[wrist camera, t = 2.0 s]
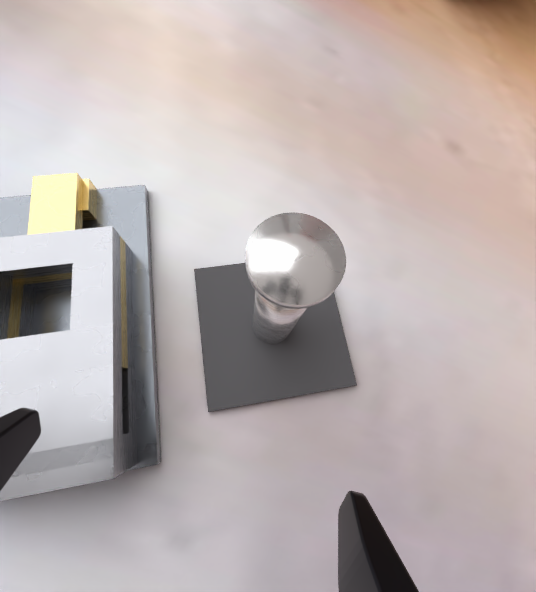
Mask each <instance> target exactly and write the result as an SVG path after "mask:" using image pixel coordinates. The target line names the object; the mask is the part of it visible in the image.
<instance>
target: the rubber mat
mask: <svg viewBox="0 0 536 592" xmlns="http://www.w3.org/2000/svg"><path fill="white" fill-rule="evenodd" d="M194 271H195V281H196V292H197V302H198V312H199V322H200V333H201V343H202V353H203V363H204V374H205V384H206V394H207V404H208V412H211V411H216V410H222V409H227V408H233V407H239V406H244V405H250V404H255V403H261V402H266V401H272V400H277V399H283V398H289V397H294V396H300V395H305V394H311V393H316V392H322V391H328V390H333V389H339V388H344V387H350V386H355V385H357V384H356V380H355V376H354V372H353V368H352V364H351V359H350V355H349V351H348V347H347V343H346V339H345V335H344V331H343V327H342V323H341V319H340V315H339V311H338V307H337V303H336V299H335V295H334V291H333V293H332V294H331V295H330V296H329V297H328V298H326V299H325V300H324V301H322V302H321V303H319V304H317V305H315V306H312V307H308V308H307V309H306V310H305V312H304V313H303V314H302V316H301V317H300V319H299V320H298V322H297V323H296V325H295V326H294V328H293V329H292V330H291V332H290V333H289V335H288V336H287V337H286V338H285V339H284V340H283V341H281V342H279V343H276V344H269V343H265V342H263V341H261V340H260V339H259V338H258V337H257V336H256V334H255V333H254V330H253V314H254V301H255V288H254V287H253V286H252V284H251V282H250V280H249V278H248V275H247V271H246V265H245V263H241V264H233V265H225V266H217V267H209V268H201V269H194Z"/></svg>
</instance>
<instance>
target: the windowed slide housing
mask: <svg viewBox="0 0 536 592" xmlns="http://www.w3.org/2000/svg"><path fill="white" fill-rule="evenodd" d="M19 408H29V409H33V410H36V411H38V413H39V417H40V424H41V434H40V436H39V438H38V440H37V441H36V443H35V444H34V446H33V447H32V448H31V450H30V451H29V453H28V454H27V455H26V457H25V458H24V459H23V461H22V462H21V464H20V465H19V466H18V468H17V469H16V471H15V472H14V473H13V475H12V476H11V478H10V479H9V480H8V482H7V483H6V484H5V486H4V487H3V489H2V490H1V491H0V501H5V500H10V499H15V498H20V497H25V496H30V495H35V494H40V493H45V492H50V491H55V490H60V489H65V488H70V487H75V486H80V485H85V484H90V483H95V482H100V481H105V480H110V479H114V478H116V477H117V476H119V475H120V474H122V473H124V472H125V471H127V470H131V469H136V468H141V467H146V466H151V465H156V464H158V463H160V462H161V453H160V433H159V413H158V392H157V372H156V351H155V331H154V311H153V290H152V270H151V249H150V229H149V209H148V191H147V189H146V187H145V185H138V186H127V187H116V188H105V189H96V188H95V186H94V185H93V183H92V182H91V181H90V179H81V177H80V176H79V175H78V173H69V174H57V175H45V176H33V182H32V193H31V195H26V196H14V197H3V198H0V417H1V416H3V415H6V414H8V413H10V412H12V411H15V410H17V409H19Z"/></svg>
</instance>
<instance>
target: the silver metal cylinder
mask: <svg viewBox="0 0 536 592" xmlns="http://www.w3.org/2000/svg"><path fill="white" fill-rule="evenodd" d="M245 265H246V271H247V275H248V278H249V280H250V282H251V284H252V286H253V287H254V288H255V301H254V314H253V330H254V333H255V334H256V336H257V337H258V338H259V339H260V340H261V341H263V342H265V343H269V344H276V343H279V342H281V341H283V340H284V339H285V338H286V337H287V336H288V335H289V333H290V332H291V330H292V329H293V328H294V326H295V325H296V323H297V322H298V320H299V319H300V317H301V316H302V314H303V313H304V312H305V310H306V309H307V308H308V307H312V306H315V305H317V304H319V303H321V302H322V301H324V300H325V299H326V298H328V297H329V296H330V295H331V294H332V293H333V291H334V290H335V289H336V288H337V286H338V285H339V284H340V282H341V280H342V278H343V275H344V272H345V267H346V255H345V251H344V247H343V245H342V242H341V241H340V239H339V237H338V236H337V234H336V233H335V232H334V231H333V230H332V228H330V227H329V226H328V225H327V224H326V223H324V222H323V221H321V220H319V219H317V218H315V217H313V216H310V215H307V214H302V213H283V214H278V215H275V216H273V217H271V218H268V219H267V220H265V221H264V222H262V223H261V224H260V225H259V226H258V227H257V228H256V229H255V230H254V231H253V233H252V234H251V236H250V238H249V240H248V243H247V246H246V252H245Z"/></svg>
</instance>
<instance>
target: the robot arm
mask: <svg viewBox="0 0 536 592" xmlns="http://www.w3.org/2000/svg"><path fill="white" fill-rule="evenodd" d="M40 434H41V424H40V417H39V413H38V411H36V410H33V409H29V408H19V409H17V410H15V411H12V412H10V413H8V414H6V415H3V416H1V417H0V491H1V490H2V489H3V487H4V486H5V484H6V483H7V482H8V480H9V479H10V478H11V476H12V475H13V473H14V472H15V471H16V469H17V468H18V466H19V465H20V464H21V462H22V461H23V459H24V458H25V457H26V455H27V454H28V453H29V451H30V450H31V448H32V447H33V446H34V444H35V443H36V441H37V440H38V438H39V436H40ZM338 585H339V592H419V591H418V589H417V587H416V586H415V584H414V582H413V580H412V578H411V577H410V575H409V573H408V571H407V569H406V568H405V566H404V564H403V562H402V561H401V559H400V557H399V555H398V553H397V552H396V550H395V548H394V546H393V544H392V543H391V541H390V539H389V537H388V536H387V534H386V532H385V530H384V528H383V527H382V525H381V523H380V521H379V519H378V518H377V516H376V514H375V512H374V511H373V509H372V507H371V505H370V503H369V502H368V500H367V498H366V497H365V495H363V494H362V493H358V492H354V491H349V492H348V493H347V495H346V497H345V499H344V501H343V502H342V504H341V506H340V509H339V515H338Z"/></svg>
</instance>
